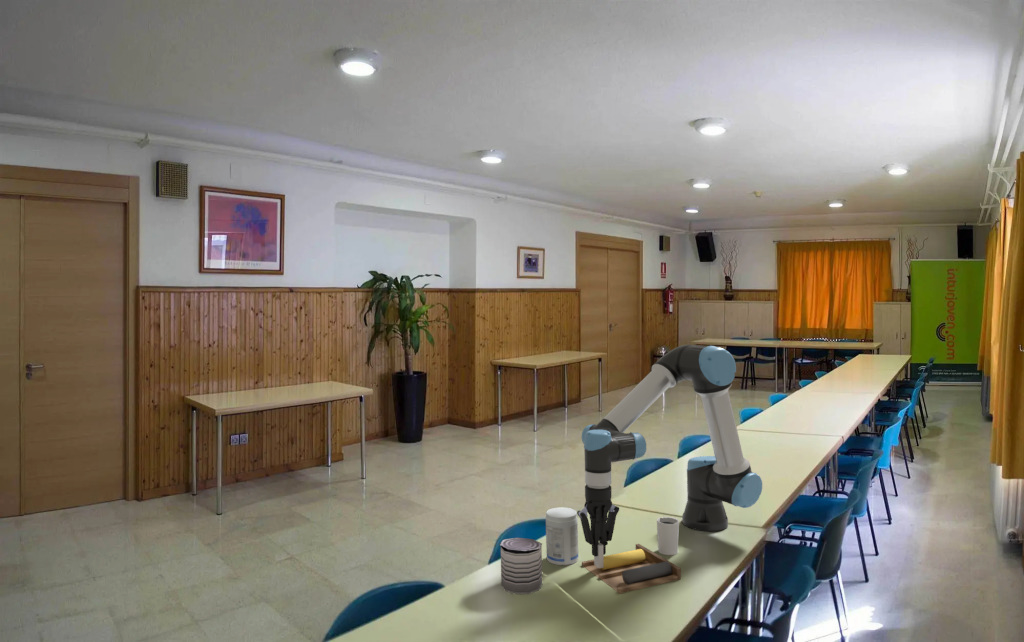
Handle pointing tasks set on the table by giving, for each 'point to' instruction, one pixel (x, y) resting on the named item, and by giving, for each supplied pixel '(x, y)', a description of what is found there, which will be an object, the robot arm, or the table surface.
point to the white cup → (667, 535)
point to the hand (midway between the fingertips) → (598, 566)
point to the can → (521, 565)
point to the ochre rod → (623, 559)
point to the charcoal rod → (646, 572)
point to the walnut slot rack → (615, 574)
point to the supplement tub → (562, 536)
